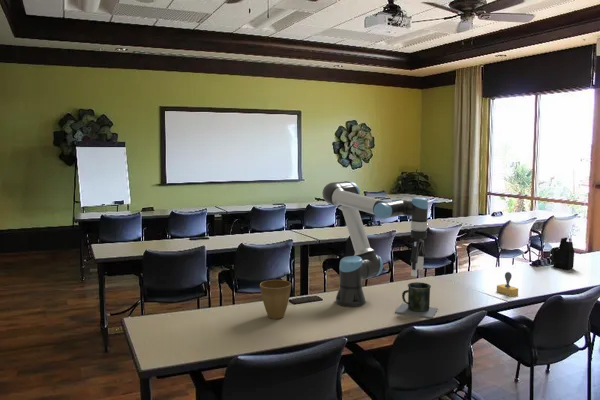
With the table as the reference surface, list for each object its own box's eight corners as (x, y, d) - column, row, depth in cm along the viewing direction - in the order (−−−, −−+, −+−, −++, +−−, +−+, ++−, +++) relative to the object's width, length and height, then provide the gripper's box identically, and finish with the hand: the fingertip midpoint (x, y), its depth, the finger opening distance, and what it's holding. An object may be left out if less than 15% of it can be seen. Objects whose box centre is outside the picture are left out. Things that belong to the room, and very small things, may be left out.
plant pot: (297, 314, 243) (297, 282, 241) (280, 323, 230) (280, 290, 228) (271, 309, 250) (271, 277, 249) (253, 318, 238) (253, 285, 236)
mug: (434, 311, 245) (435, 287, 243) (407, 314, 241) (408, 289, 239) (423, 304, 255) (423, 281, 254) (397, 307, 251) (397, 283, 250)
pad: (394, 313, 245) (394, 311, 244) (402, 304, 257) (402, 303, 257) (432, 318, 237) (432, 317, 237) (437, 309, 249) (437, 308, 249)
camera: (554, 264, 341) (556, 235, 339) (574, 268, 330) (576, 238, 328) (546, 266, 335) (548, 236, 333) (566, 270, 324) (568, 240, 322)
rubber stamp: (518, 294, 274) (519, 273, 273) (511, 296, 271) (512, 274, 270) (503, 290, 283) (504, 269, 281) (496, 291, 280) (497, 270, 279)
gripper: (421, 235, 229) (419, 280, 232) (432, 226, 252) (430, 267, 254) (404, 233, 233) (403, 278, 235) (417, 225, 255) (415, 265, 258)
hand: (417, 272), depth 245 cm, fingers open, 13 cm apart
